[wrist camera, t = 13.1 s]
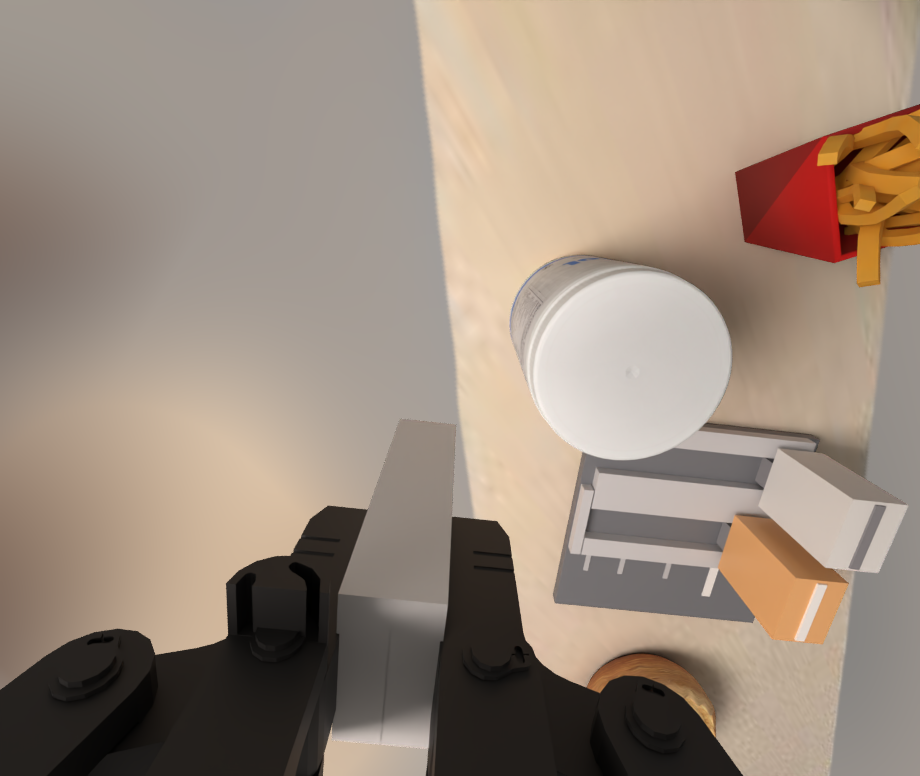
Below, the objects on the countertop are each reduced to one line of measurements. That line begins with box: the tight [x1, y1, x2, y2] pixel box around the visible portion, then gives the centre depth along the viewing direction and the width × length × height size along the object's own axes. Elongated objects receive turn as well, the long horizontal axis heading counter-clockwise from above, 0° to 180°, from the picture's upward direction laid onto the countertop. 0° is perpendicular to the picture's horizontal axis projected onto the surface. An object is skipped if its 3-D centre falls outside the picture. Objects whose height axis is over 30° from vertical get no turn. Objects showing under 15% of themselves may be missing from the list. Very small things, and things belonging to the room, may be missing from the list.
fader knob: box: [716, 515, 849, 644], centre depth 36 cm, size 5×4×9 cm
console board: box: [553, 423, 908, 623], centre depth 37 cm, size 18×18×10 cm
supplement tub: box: [509, 255, 732, 460], centre depth 29 cm, size 10×10×15 cm
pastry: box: [587, 654, 716, 738], centre depth 43 cm, size 12×12×9 cm
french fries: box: [735, 104, 920, 287], centre depth 27 cm, size 9×8×15 cm
